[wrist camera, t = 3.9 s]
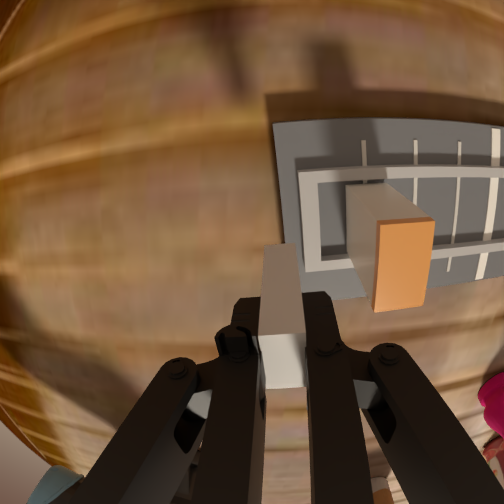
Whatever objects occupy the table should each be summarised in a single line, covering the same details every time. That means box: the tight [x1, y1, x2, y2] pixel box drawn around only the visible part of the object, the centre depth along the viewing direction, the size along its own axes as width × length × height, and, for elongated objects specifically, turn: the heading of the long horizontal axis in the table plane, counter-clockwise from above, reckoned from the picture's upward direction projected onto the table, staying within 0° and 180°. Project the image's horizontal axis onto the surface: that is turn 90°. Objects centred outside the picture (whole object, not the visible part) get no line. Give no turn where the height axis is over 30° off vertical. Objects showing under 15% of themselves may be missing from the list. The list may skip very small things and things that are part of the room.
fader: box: [345, 183, 435, 312], centre depth 18 cm, size 3×5×8 cm, turn 7°
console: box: [273, 117, 504, 300], centre depth 21 cm, size 26×14×3 cm, turn 97°
